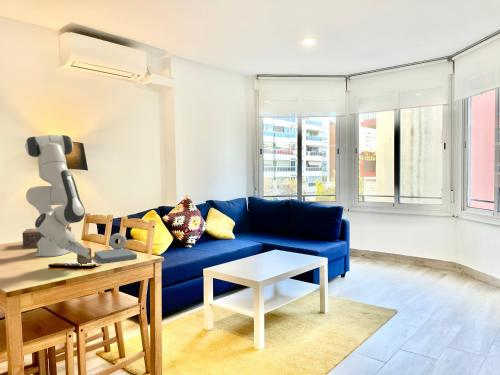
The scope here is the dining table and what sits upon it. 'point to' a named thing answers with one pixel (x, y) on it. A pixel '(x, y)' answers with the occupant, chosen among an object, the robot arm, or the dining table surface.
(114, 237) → the donut
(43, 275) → the dining table surface
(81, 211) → the robot arm
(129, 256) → the base board
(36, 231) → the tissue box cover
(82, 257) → the walnut block
